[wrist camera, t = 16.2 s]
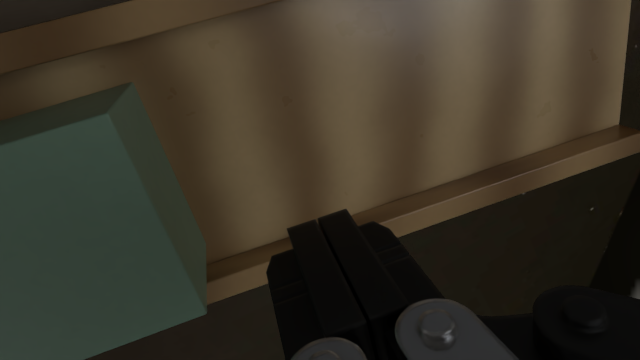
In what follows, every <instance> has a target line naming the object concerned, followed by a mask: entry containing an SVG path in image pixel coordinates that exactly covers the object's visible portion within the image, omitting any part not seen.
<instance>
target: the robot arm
mask: <svg viewBox="0 0 640 360" xmlns="http://www.w3.org/2000/svg"><path fill="white" fill-rule="evenodd" d="M317 221H318V223H317ZM317 221H316V219H313V220H310V221H307V222H304V223H301V224H298V225H295V226H292V227H289V228H287V232H288V235H289V238H290V241H291V245H292V248H293V249H290V250H287V251H284V252H281V253H278V254H276V255H273V256H271V259H270V262H269V265H268V268H267V271H266V274H267V279H268V283H269V288H270V292H271V296H272V301H273V304H274V310H275V314H276V319H277V323H278V328H279V332H280V337H281V341H282V345H283V350H284V354H285V360H640V299H636V298H632V297H627V296H623V295H619V294H615V293H611V292H606V291H602V290H598V289H594V288H589V287H584V286H575V285H570V286H559V287H555V288H551V289H549V290H547V291H545V292H543V293H542V294H540V296H539V297H538V298H537V299H536V301H535V302H534V305H533V313H530V314H519V315H508V316H492V317H490V316H480V315H475V314H474V313H473V312H472V311H471V310H470V309H468V308H467V307H465V306H464V305H462V304H460V303H457V302H455V301H451V300H447V299H445V298H444V297H443V295H442V294H441V293H440V292H439V290H438V289H437V288H436V287H435V285H434V284H433V283H432V281H431V280H430V279H429V278H428V276H427V275H426V274H425V273H424V271H423V270H422V269H421V268H420V266H419V265H418V264H417V263H416V261H415V260H414V259H413V257H412V256H411V255H409V253H408V251H407V250H406V249H405V247H404V246H403V245H402V244H401V243H400V241H399V240H398V239H397V237H396V236H395V235H394V233H393V232H392V231H391V230H390V229H389V228H387V227H385V226H383V225H381V224H379V223H377V222H375V221H371V222H368V223H365V224H363V225H360V226H358V225H357V224H356V222H355V221H354V219H353V218H352V216H351V215H350V213H349V212H348V210H347V209H343V210H340V211H337V212H334V213H331V214H328V215H325V216H322V217H319V218H317Z"/></svg>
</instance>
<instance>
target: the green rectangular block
mask: <svg viewBox="0 0 640 360" xmlns="http://www.w3.org/2000/svg"><path fill="white" fill-rule="evenodd" d="M205 314H207V276H206V242H205V240H204V238H203V236H202V233H201V231H200V229H199V227H198V225H197V222H196V220H195V218H194V216H193V213H192V211H191V209H190V207H189V205H188V202H187V200H186V198H185V196H184V194H183V191H182V189H181V187H180V185H179V183H178V180H177V178H176V176H175V174H174V172H173V169H172V167H171V165H170V163H169V160H168V158H167V156H166V154H165V152H164V149H163V147H162V145H161V143H160V141H159V138H158V136H157V134H156V132H155V130H154V127H153V125H152V123H151V121H150V119H149V116H148V114H147V112H146V110H145V107H144V105H143V103H142V101H141V99H140V96H139V94H138V92H137V90H136V88H135V85H134V83H133V82H130V83H126V84H123V85H120V86H116V87H113V88H110V89H106V90H103V91H99V92H96V93H93V94H89V95H86V96H83V97H79V98H76V99H72V100H69V101H66V102H62V103H59V104H56V105H52V106H49V107H46V108H42V109H39V110H35V111H32V112H29V113H25V114H22V115H19V116H15V117H12V118H8V119H5V120H2V121H0V360H84V359H87V358H90V357H92V356H95V355H98V354H100V353H103V352H106V351H108V350H111V349H114V348H116V347H119V346H122V345H124V344H127V343H130V342H132V341H135V340H138V339H140V338H143V337H146V336H149V335H151V334H154V333H157V332H159V331H162V330H165V329H167V328H170V327H173V326H175V325H178V324H181V323H183V322H186V321H189V320H191V319H194V318H197V317H200V316H202V315H205Z"/></svg>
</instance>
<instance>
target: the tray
mask: <svg viewBox="0 0 640 360" xmlns="http://www.w3.org/2000/svg"><path fill="white" fill-rule="evenodd" d="M630 8H631V0H130V1H126V2H122V3H118V4H114V5H110V6H106V7H103V8H99V9H95V10H91V11H87V12H83V13H79V14H75V15H71V16H67V17H63V18H59V19H55V20H51V21H47V22H43V23H39V24H35V25H31V26H27V27H23V28H19V29H15V30H11V31H7V32H3V33H0V121H2V120H5V119H8V118H12V117H15V116H19V115H22V114H25V113H29V112H32V111H35V110H39V109H42V108H46V107H49V106H52V105H56V104H59V103H62V102H66V101H69V100H72V99H76V98H79V97H83V96H86V95H89V94H93V93H96V92H99V91H103V90H106V89H110V88H113V87H116V86H120V85H123V84H126V83H130V82H133V83H134V85H135V88H136V90H137V92H138V94H139V96H140V99H141V101H142V103H143V105H144V107H145V110H146V112H147V114H148V116H149V119H150V121H151V123H152V125H153V127H154V130H155V132H156V134H157V136H158V138H159V141H160V143H161V145H162V147H163V149H164V152H165V154H166V156H167V158H168V160H169V163H170V165H171V167H172V169H173V172H174V174H175V176H176V178H177V180H178V183H179V185H180V187H181V189H182V191H183V194H184V196H185V198H186V200H187V202H188V205H189V207H190V209H191V211H192V213H193V216H194V218H195V220H196V222H197V225H198V227H199V229H200V231H201V233H202V236H203V238H204V240H205V242H206V276H207V305H208V304H211V303H214V302H216V301H219V300H222V299H225V298H228V297H231V296H233V295H236V294H239V293H242V292H245V291H247V290H250V289H253V288H256V287H259V286H262V285H264V284H267V283H268V279H267V274H266V271H267V268H268V265H269V262H270V259H271V256H273V255H276V254H278V253H281V252H284V251H287V250H290V249H293V248H292V245H291V241H290V238H289V235H288V232H287V228H289V227H292V226H295V225H298V224H301V223H304V222H307V221H310V220H313V219H316V221H317V218H319V217H322V216H325V215H328V214H331V213H334V212H337V211H340V210H343V209H347V210H348V212H349V213H350V215H351V216H352V218H353V219H354V221H355V222H356V224H357V225H358V226H360V225H363V224H365V223H368V222H371V221H375V222H377V223H379V224H381V225H383V226H385V227H387V228H389V229H390V230H391V231H392V232H393V233H394V235H395V236H396V237H400V236H403V235H406V234H409V233H411V232H414V231H417V230H420V229H423V228H426V227H428V226H431V225H434V224H437V223H440V222H443V221H445V220H448V219H451V218H454V217H457V216H460V215H462V214H465V213H468V212H471V211H474V210H476V209H479V208H482V207H485V206H488V205H491V204H493V203H496V202H499V201H502V200H505V199H508V198H510V197H513V196H516V195H519V194H522V193H525V192H527V191H530V190H533V189H536V188H539V187H542V186H544V185H547V184H550V183H553V182H556V181H558V180H561V179H564V178H567V177H570V176H573V175H575V174H578V173H581V172H584V171H587V170H590V169H592V168H595V167H598V166H601V165H604V164H607V163H609V162H612V161H615V160H618V159H621V158H624V157H626V156H629V155H632V154H635V153H638V152H640V131H639V130H636V129H633V128H629V127H626V126H623V125H619V118H620V108H621V98H622V88H623V78H624V68H625V58H626V48H627V38H628V28H629V18H630ZM317 223H318V221H317Z"/></svg>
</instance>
